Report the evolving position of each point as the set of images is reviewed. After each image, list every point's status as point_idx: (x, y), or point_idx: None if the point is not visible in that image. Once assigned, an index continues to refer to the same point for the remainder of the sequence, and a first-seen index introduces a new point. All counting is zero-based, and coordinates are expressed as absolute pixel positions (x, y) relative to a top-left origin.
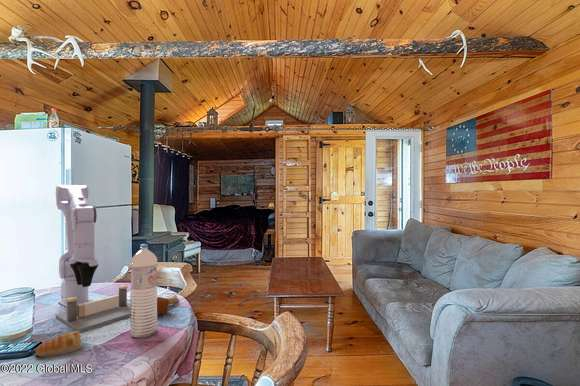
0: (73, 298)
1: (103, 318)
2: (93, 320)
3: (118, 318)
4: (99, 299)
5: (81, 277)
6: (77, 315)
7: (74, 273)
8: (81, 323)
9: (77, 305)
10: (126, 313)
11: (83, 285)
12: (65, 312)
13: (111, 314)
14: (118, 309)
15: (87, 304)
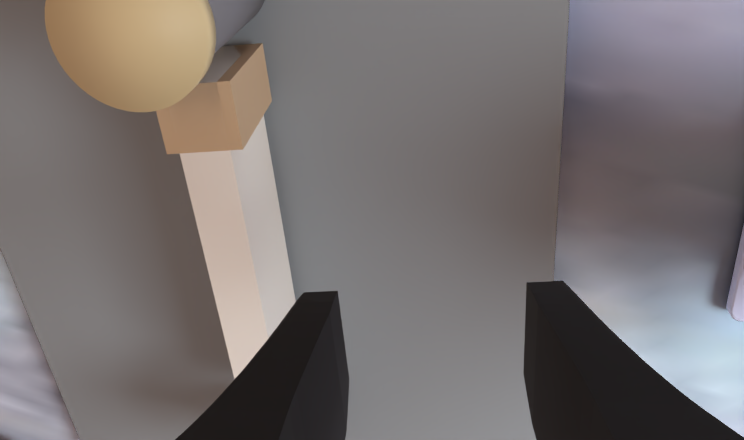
0: (114, 52)
1: (62, 204)
2: (59, 127)
3: (25, 285)
4: (252, 316)
5: (250, 401)
6: (236, 48)
7: (691, 414)
8: (40, 20)
9: (203, 81)
10: (70, 358)
11: (293, 310)
12: (548, 2)
13: (128, 280)
14: (223, 357)
15: (188, 179)
